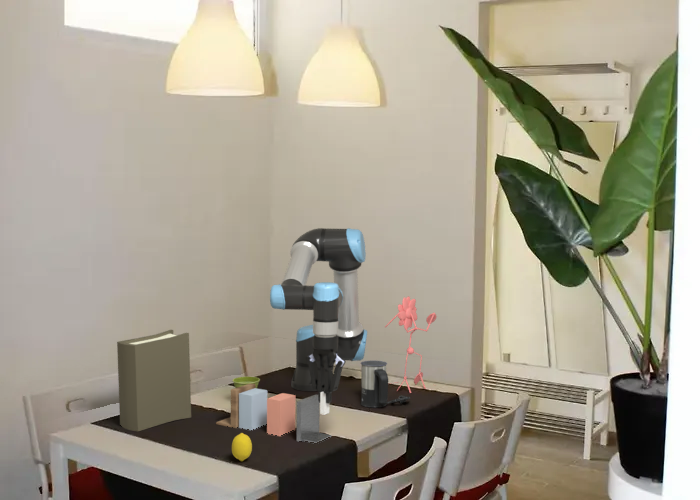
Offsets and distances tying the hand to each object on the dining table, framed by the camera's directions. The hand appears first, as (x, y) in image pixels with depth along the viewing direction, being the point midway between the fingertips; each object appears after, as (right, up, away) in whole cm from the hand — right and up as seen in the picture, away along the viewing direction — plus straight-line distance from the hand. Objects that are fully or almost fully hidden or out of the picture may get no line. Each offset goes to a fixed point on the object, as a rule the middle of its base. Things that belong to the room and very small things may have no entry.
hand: (324, 413), depth 245 cm
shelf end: (-29, -7, +19) cm, 35 cm away
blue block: (-23, -7, +15) cm, 28 cm away
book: (-55, -7, +18) cm, 58 cm away
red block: (-14, -8, +9) cm, 18 cm away
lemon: (-22, -10, -18) cm, 30 cm away
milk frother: (+20, -6, +42) cm, 47 cm away
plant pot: (-29, -5, +41) cm, 50 cm away
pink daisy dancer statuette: (+28, -4, +66) cm, 72 cm away
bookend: (-3, -8, +3) cm, 9 cm away
